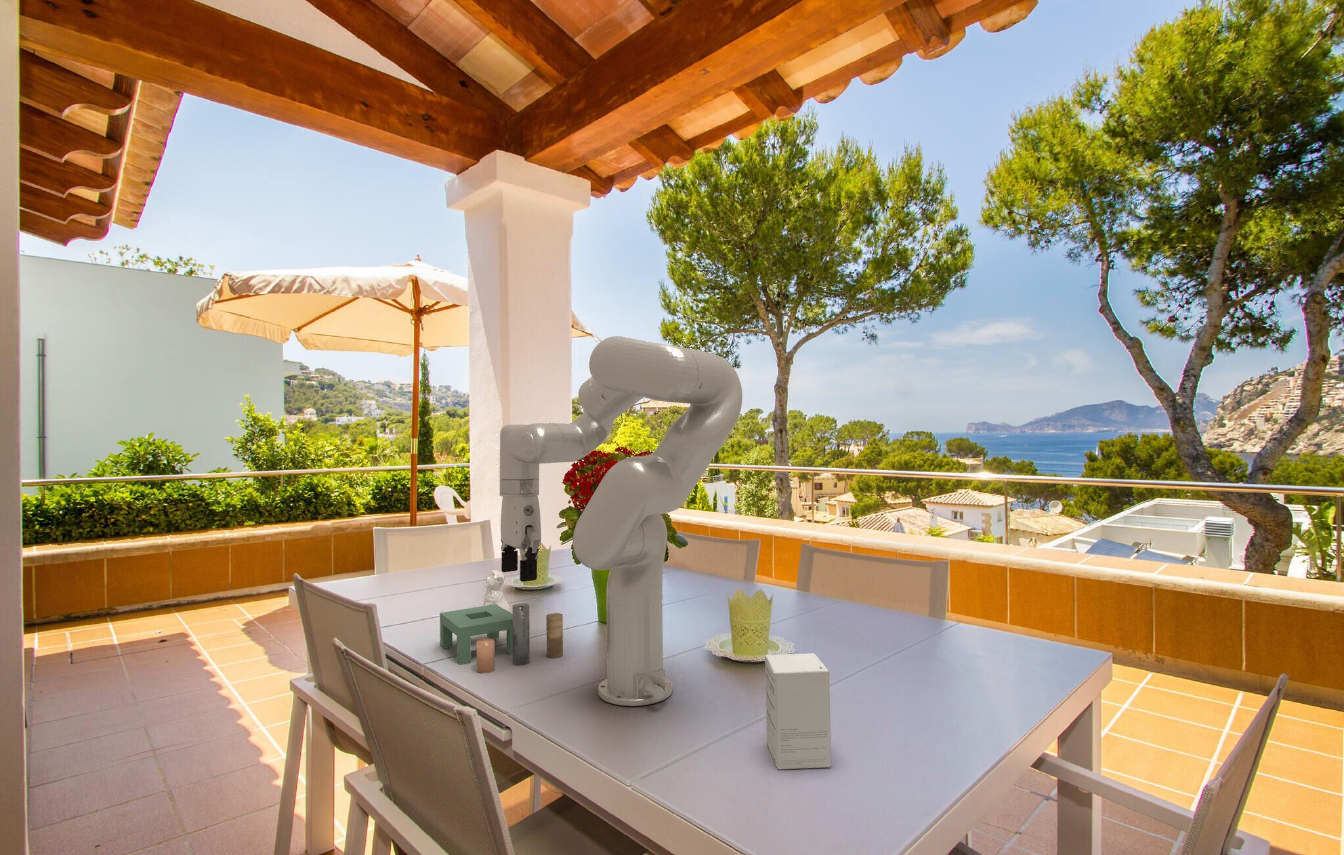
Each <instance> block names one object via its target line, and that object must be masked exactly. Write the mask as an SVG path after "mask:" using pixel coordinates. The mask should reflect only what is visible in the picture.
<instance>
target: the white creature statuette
mask: <svg viewBox="0 0 1344 855" xmlns="http://www.w3.org/2000/svg"><path fill="white" fill-rule="evenodd" d="M490 572H491V573H490V574H489V576H488V577H487V578H486V582H485V584H484V586H485V588H486V590H485V594H484V596H483V599H484V600H483V604H482V606H487V605H493V604H496V605H498V606H500V607H501V608H503V609H505V610H507V611H508V612H510V613H511V607H510V605H509V603H508V601H507V600H506V598H505V596H504V593H503V590H502V586H503V585H504V581H505V575H504V572H502V571H499V570H496V569H492V570H491V571H490Z"/></svg>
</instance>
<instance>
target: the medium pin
mask: <svg viewBox="0 0 1344 855" xmlns="http://www.w3.org/2000/svg"><path fill="white" fill-rule="evenodd" d="M563 616H564V615H563V613H559V612H555V613H554V612H553V613H548V614H547V615H546V617H545V618H546V622H545V624H546V657H547V658H548V659H558V658H559V659H560V658H562V657H563V656H564V631H563V630H564V629H563V628H564V627H563V626H564V625H563V624H564V622H563V621H564V620H563V618H564V617H563Z"/></svg>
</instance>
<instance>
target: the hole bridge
mask: <svg viewBox="0 0 1344 855" xmlns="http://www.w3.org/2000/svg"><path fill="white" fill-rule="evenodd" d="M503 631H506V653H508V654H509V655H513V612H511V611H510V612H508V611H507V610H505V609H503V608H501V607H500V606H498V605H496V604H493V605H487V606H483V605H482V606H475V607H474V606H473V607H470V608H469V607H468V608H462V609H456V610H449V611H442V612H440V613H439V632H440V633H439V647H440V648H441V649H447V648H448V649H449V648H453V634H454V635H455V636H456V663H458V664H459V665H460V666H461V665H464V664H465V665H466V664H469V663H471V637H474V636H475V637H476V636H480V635H481V636H482V635H486V638H492V639H494V640H497V639H496V638H498V639H500V632H503Z"/></svg>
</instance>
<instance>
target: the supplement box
mask: <svg viewBox="0 0 1344 855" xmlns="http://www.w3.org/2000/svg"><path fill="white" fill-rule="evenodd" d="M764 666H765V667H764V670H765V671H764V672H765V674H764V675H765V718H766V721H765V724H766V726H765V727H766V728H765V729H766V730H765V731H766V745H767V747H768V749H769V752H770V755H771V757H772V760H773V762H774V765H775V767H776V769H777V770H793V769H794V770H795V769H816V768H817V769H818V768H819V769H820V768H823V769H824V768H832V740H831V738H832V734H831V697H830V696H831V691H830V688H831V686H830V671H829V670H828V668H827V667H826V666H825V664H824V663H823V662H822V661H821V659H820V658H819V657H818V656H817V655H816V654H815V653H814V652H812V653H811V652H810V653H789V654H788V653H787V654H786V653H785V654H784V653H783V654H781V653H780V654H764Z"/></svg>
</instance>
